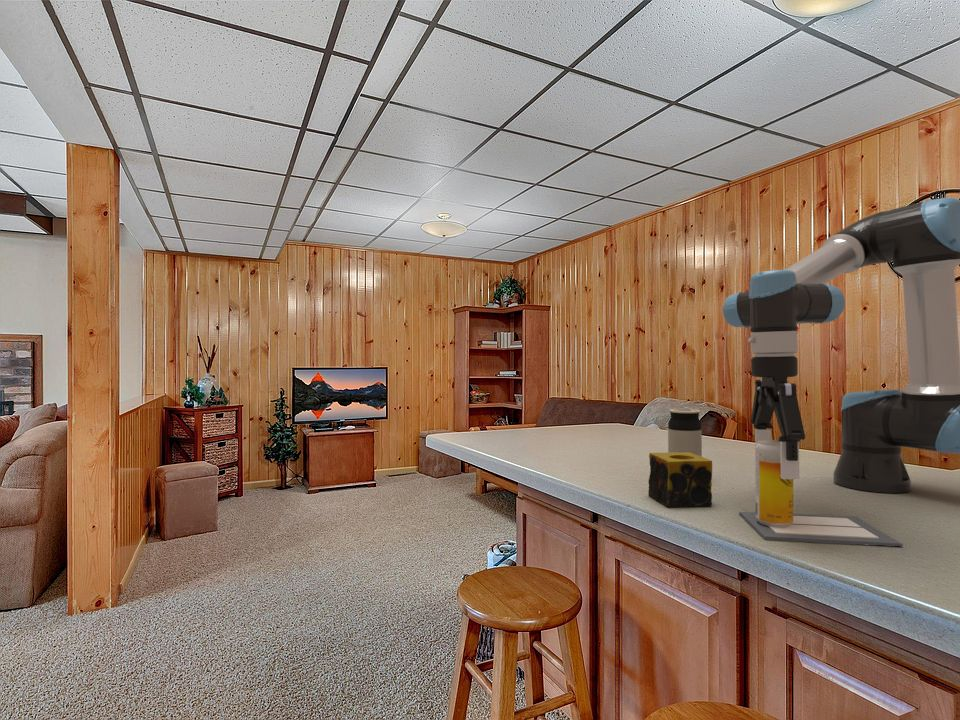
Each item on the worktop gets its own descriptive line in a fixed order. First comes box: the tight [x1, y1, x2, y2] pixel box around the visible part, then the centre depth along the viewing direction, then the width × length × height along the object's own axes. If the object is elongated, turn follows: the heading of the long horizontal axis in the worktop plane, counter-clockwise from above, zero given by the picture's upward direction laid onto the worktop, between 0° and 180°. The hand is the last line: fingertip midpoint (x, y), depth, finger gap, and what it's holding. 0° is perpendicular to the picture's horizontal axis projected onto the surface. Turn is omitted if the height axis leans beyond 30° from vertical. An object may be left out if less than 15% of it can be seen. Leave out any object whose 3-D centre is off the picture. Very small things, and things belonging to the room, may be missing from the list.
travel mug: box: [667, 408, 703, 457], centre depth 136 cm, size 8×8×18 cm
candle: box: [648, 452, 713, 509], centre depth 117 cm, size 10×10×10 cm
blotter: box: [738, 511, 903, 548], centre depth 97 cm, size 21×15×1 cm
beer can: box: [754, 439, 794, 527], centre depth 98 cm, size 6×6×15 cm
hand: (776, 470), depth 99 cm, fingers open, 13 cm apart
